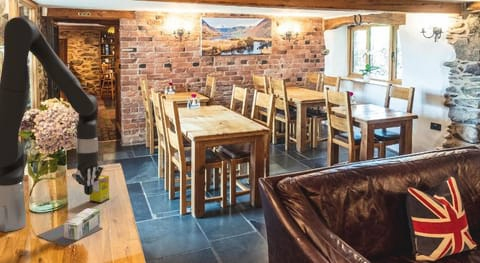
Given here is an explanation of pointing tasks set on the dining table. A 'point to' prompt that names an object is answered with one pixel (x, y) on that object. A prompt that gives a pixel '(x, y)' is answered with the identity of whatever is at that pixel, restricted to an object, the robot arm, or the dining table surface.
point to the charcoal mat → (58, 235)
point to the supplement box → (100, 190)
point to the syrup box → (81, 223)
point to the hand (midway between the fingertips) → (88, 194)
